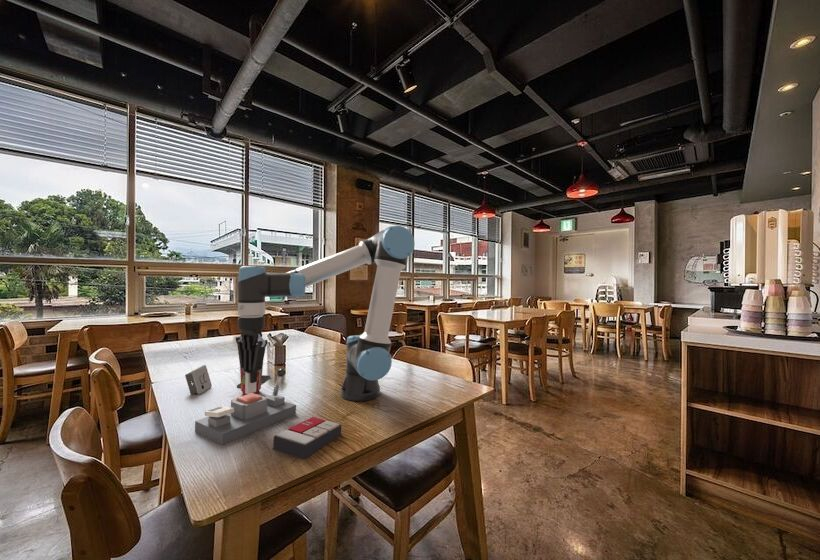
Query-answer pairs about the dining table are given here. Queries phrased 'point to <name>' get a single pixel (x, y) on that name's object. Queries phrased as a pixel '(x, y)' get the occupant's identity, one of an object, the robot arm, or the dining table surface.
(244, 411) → the switch panel
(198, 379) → the electrical switch
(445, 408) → the dining table surface
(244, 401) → the push button
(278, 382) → the toggle lever
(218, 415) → the rocker switch
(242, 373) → the smoothie
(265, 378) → the phone
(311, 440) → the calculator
